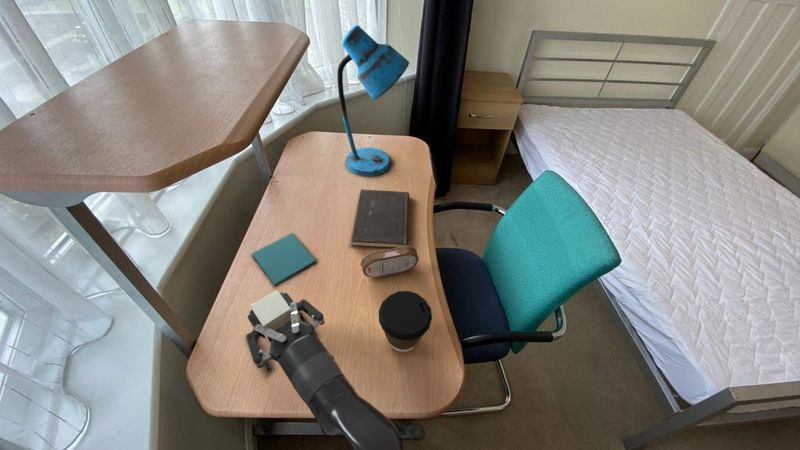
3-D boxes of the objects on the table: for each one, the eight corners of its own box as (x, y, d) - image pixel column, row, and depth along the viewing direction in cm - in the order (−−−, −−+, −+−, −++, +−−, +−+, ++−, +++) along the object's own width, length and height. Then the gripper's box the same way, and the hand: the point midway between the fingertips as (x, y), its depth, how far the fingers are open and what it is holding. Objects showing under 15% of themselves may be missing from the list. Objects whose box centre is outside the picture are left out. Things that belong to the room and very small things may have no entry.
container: (274, 347, 65) (263, 326, 58) (262, 328, 67) (249, 305, 61) (299, 331, 67) (290, 308, 61) (286, 312, 70) (276, 289, 64)
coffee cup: (417, 312, 78) (422, 283, 70) (433, 356, 71) (440, 329, 62) (373, 322, 76) (372, 294, 67) (384, 369, 68) (385, 343, 60)
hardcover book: (351, 246, 92) (350, 241, 90) (361, 194, 108) (360, 189, 107) (407, 249, 92) (408, 244, 91) (408, 197, 108) (409, 191, 107)
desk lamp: (400, 179, 115) (409, 38, 84) (339, 173, 116) (325, 32, 84) (404, 154, 127) (412, 22, 95) (348, 149, 127) (338, 16, 96)
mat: (274, 285, 82) (274, 284, 81) (252, 255, 88) (251, 253, 88) (316, 261, 88) (316, 260, 87) (292, 234, 94) (291, 233, 94)
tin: (414, 262, 89) (417, 241, 83) (418, 271, 87) (421, 250, 81) (360, 273, 86) (359, 252, 80) (363, 282, 84) (362, 262, 78)
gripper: (278, 407, 54) (236, 334, 63) (348, 352, 61) (302, 293, 70) (267, 392, 49) (223, 315, 57) (345, 333, 56) (296, 272, 65)
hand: (266, 303), depth 64 cm, fingers closed on container, 5 cm apart
